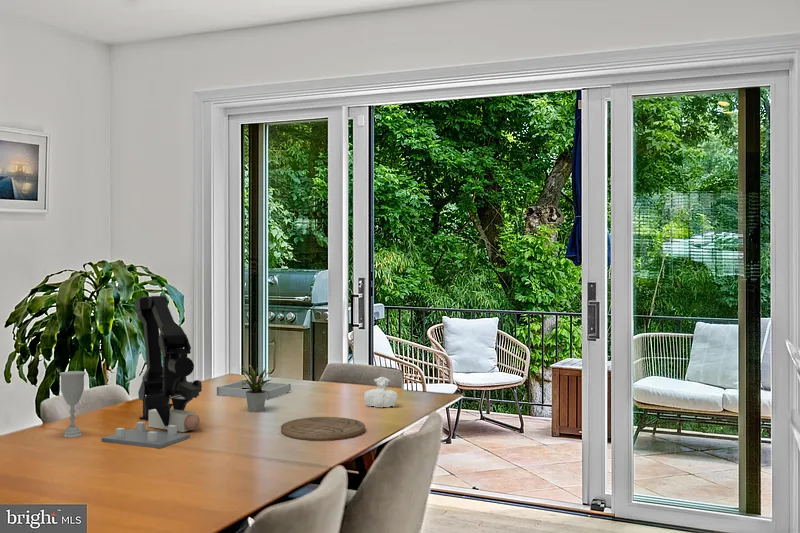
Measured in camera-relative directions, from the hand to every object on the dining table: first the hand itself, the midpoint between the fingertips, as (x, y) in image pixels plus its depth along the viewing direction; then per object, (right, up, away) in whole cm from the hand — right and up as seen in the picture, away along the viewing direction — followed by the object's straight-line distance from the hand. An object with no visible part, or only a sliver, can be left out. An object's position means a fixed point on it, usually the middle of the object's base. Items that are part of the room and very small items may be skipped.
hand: (172, 424), depth 223 cm
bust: (+62, -2, +36) cm, 72 cm away
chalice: (-26, -1, -9) cm, 28 cm away
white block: (0, -1, 0) cm, 1 cm away
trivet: (+46, -2, -1) cm, 46 cm away
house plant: (+18, -1, +28) cm, 34 cm away
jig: (-3, -1, -14) cm, 14 cm away
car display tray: (+13, -1, +59) cm, 61 cm away
